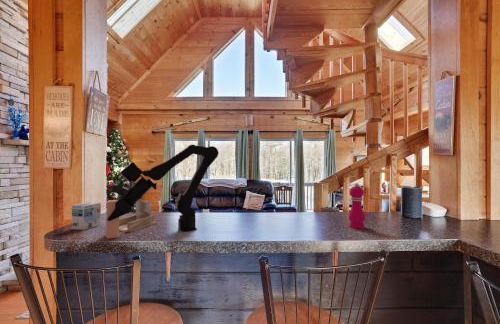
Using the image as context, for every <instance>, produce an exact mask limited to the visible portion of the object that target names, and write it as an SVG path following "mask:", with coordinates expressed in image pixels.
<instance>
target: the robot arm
mask: <svg viewBox="0 0 500 324" xmlns="http://www.w3.org/2000/svg"><path fill="white" fill-rule="evenodd" d="M219 154H220V153H219V149H218V148H217V147H216V146H202V145H195V144H190V145H188V146H187V147H186V148H184V149H183V150H181V151H179V152H178V153H177V154H175V155H173V156H172V157H171V158H169V159H168V160H166V161H164V162H162V163H159V164H157V165H155V166H152V167H151V168H150V169H147V170H145V169H144V170H142V169H140V167H138V165H137V164H136V163H135V162H134V161H132V162H131V163H130V164H128V165H127V166H126V167H125V168H123V169H122V170H121V171H120V172H119V174H120V175H121V176H122V177H124V179H125V180H127V181H128V183H131V182H133V183H134V184H133V185H132V186H130V187H129V188H127V187H125V186H123V184H120V183H118V184H117V183H113V185H112V187H111V189H110V193H114V194H117V195H119V197H118V198H117V200H118V201H117V202H116V203H115V209H114V211H113V212H112V213H111V215H110V216H109V217H108V219H107V220H108V221H111V220H113V219H115V218H118V217H119V218H121V217H122V216H124V215H127V214H129V213H131V211H132V210H133V207H134V206H135V205H136V202H137V201H140V200H141V199H142V198H143V197H144V195H145V194H146V193H147V192H149V190H151V188H153V189H154V190H157V186H158V185H157V182H153V181H160V180H161V179H162V178H164V177H165V176H166V175H167V174H168V173H169V172H170V171H171V169H172V168H175V167H176V166H178V164H180V163H182V162H183V161H185V160H187V158H189V157H191V156H192V155H197V156H201V157H200V161H199V162H200V163H199V164H198V166H197V168H196V170H195V172H194V173H193V175H192V178H191V179H190V182H189V184H188V185H187V187H186V189H185V190H184V192H182V193H181V192H179V193H178V196H177V198H176V199H175V200H174V202H175V203H174V204H175V205H174V207H175V208H176V210H177V211H178V212H179V213H180V215H179V218H178V220H177V221H178V223H177V225H178V226H177V228H178V230H180V231H182V232H187V231H188V232H191V231H195V230H198V228H197V227H196V210H194V209H193V208H192V205H193V201H194V196H195V194H196V192H197V190H198V187H199V186H200V185H201V182H202V180H203V178H204V176H205V175H206V173H207V171H208V169H209V167H210V166H211V165H212V164H213V162H215V160H216V159H217V158H218V156H219ZM145 177H147V178H148V179H147V178H145ZM152 180H153V181H152Z"/></svg>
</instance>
